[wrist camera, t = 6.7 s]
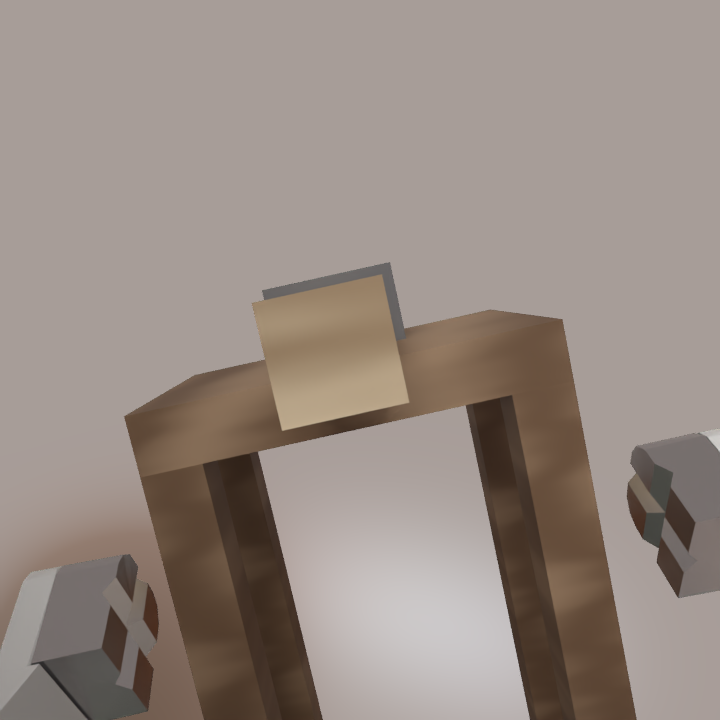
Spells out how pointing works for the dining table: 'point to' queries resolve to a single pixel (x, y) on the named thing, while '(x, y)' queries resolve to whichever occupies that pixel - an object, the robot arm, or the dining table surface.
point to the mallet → (333, 345)
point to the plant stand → (426, 395)
